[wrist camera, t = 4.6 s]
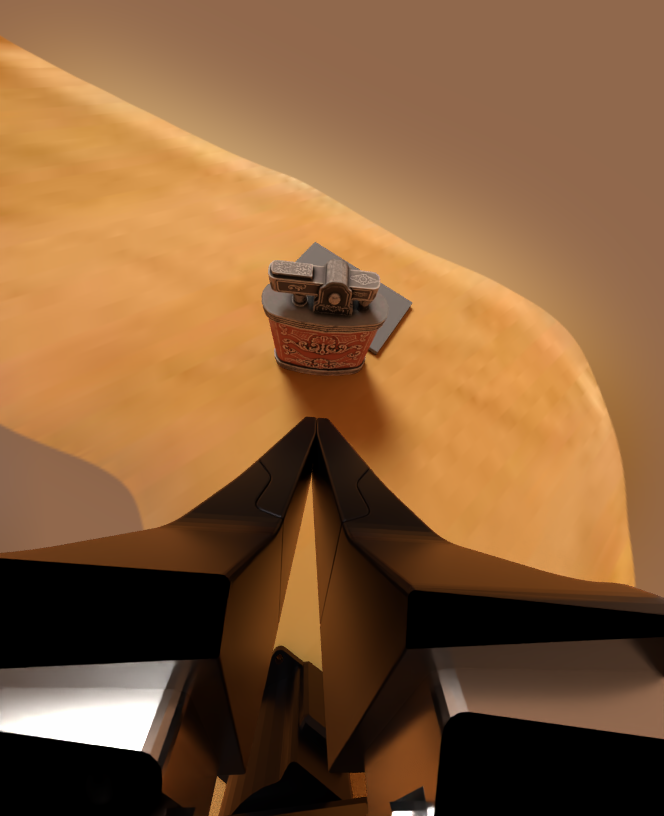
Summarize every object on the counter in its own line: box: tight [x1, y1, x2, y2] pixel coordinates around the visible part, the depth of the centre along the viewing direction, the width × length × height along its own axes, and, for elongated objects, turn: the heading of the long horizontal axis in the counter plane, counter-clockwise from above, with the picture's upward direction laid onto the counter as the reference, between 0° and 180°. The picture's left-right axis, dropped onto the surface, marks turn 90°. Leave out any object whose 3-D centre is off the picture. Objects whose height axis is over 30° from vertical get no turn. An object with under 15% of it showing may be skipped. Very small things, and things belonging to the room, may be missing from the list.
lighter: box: [262, 259, 389, 375], centre depth 18 cm, size 8×3×10 cm, turn 88°
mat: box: [296, 242, 412, 354], centre depth 25 cm, size 7×12×1 cm, turn 56°
